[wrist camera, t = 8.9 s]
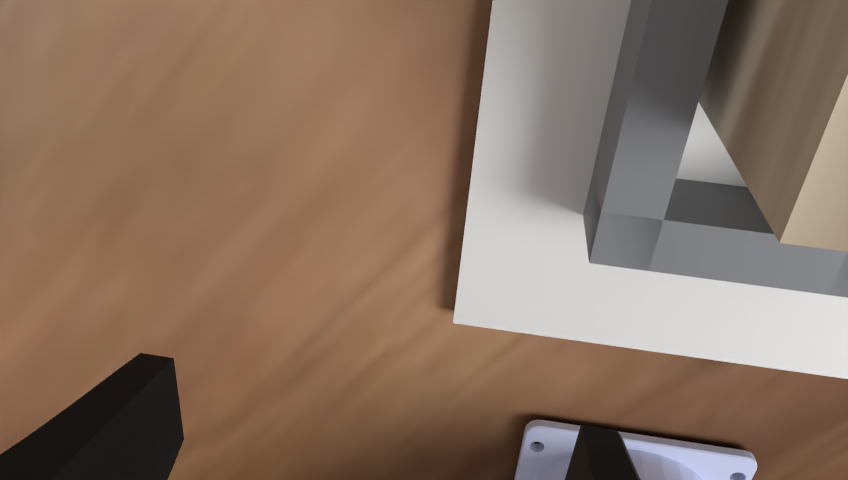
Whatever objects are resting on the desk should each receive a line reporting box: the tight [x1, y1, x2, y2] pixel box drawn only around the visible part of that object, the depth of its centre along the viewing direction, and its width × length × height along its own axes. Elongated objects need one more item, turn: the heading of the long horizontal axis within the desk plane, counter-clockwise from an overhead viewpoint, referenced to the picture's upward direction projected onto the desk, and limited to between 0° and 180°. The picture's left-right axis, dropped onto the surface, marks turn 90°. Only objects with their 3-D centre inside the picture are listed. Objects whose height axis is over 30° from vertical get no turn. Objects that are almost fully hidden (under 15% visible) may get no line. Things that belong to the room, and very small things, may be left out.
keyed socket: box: [453, 0, 848, 379], centre depth 16 cm, size 20×14×3 cm
